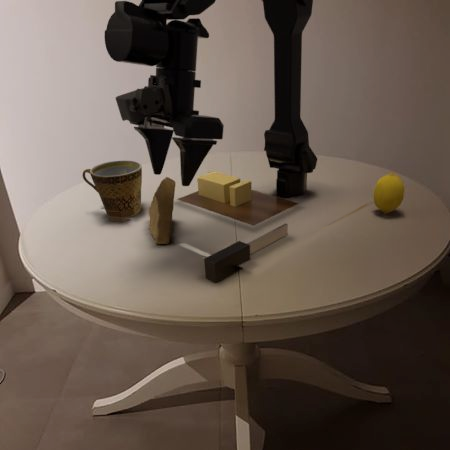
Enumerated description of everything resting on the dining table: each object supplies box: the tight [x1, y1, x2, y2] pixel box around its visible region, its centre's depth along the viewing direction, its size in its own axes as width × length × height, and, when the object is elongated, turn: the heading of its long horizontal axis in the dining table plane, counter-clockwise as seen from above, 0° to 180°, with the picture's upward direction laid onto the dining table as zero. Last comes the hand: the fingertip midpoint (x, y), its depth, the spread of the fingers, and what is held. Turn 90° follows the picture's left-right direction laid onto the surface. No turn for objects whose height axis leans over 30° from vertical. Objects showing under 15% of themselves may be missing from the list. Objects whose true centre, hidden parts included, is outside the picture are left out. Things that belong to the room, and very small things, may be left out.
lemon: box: [372, 172, 405, 215], centre depth 89 cm, size 6×6×8 cm
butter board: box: [176, 189, 299, 227], centre depth 98 cm, size 14×22×1 cm, turn 46°
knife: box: [203, 223, 289, 284], centre depth 78 cm, size 19×2×4 cm, turn 135°
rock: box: [147, 176, 176, 245], centre depth 87 cm, size 11×9×10 cm
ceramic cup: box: [82, 160, 143, 223], centre depth 94 cm, size 13×10×10 cm
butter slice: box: [230, 179, 253, 207], centre depth 96 cm, size 5×2×4 cm, turn 135°
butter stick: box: [196, 171, 241, 203], centre depth 100 cm, size 5×8×4 cm, turn 46°
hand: (170, 179), depth 74 cm, fingers open, 9 cm apart
